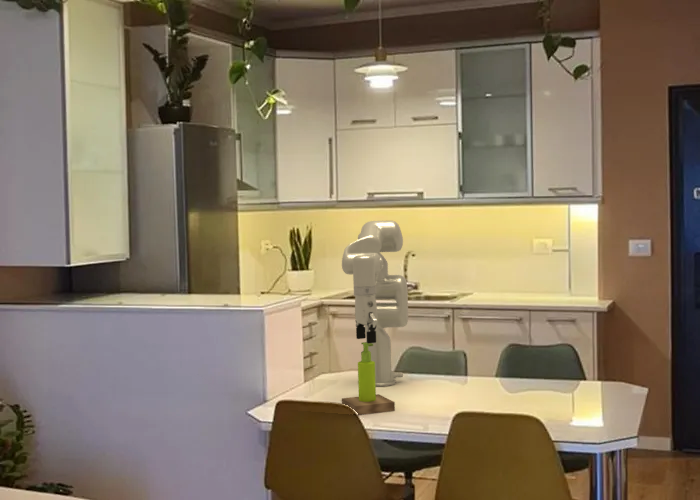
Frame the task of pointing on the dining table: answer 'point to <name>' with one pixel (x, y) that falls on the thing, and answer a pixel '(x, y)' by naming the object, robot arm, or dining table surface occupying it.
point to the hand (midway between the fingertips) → (366, 340)
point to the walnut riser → (370, 405)
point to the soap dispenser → (366, 375)
